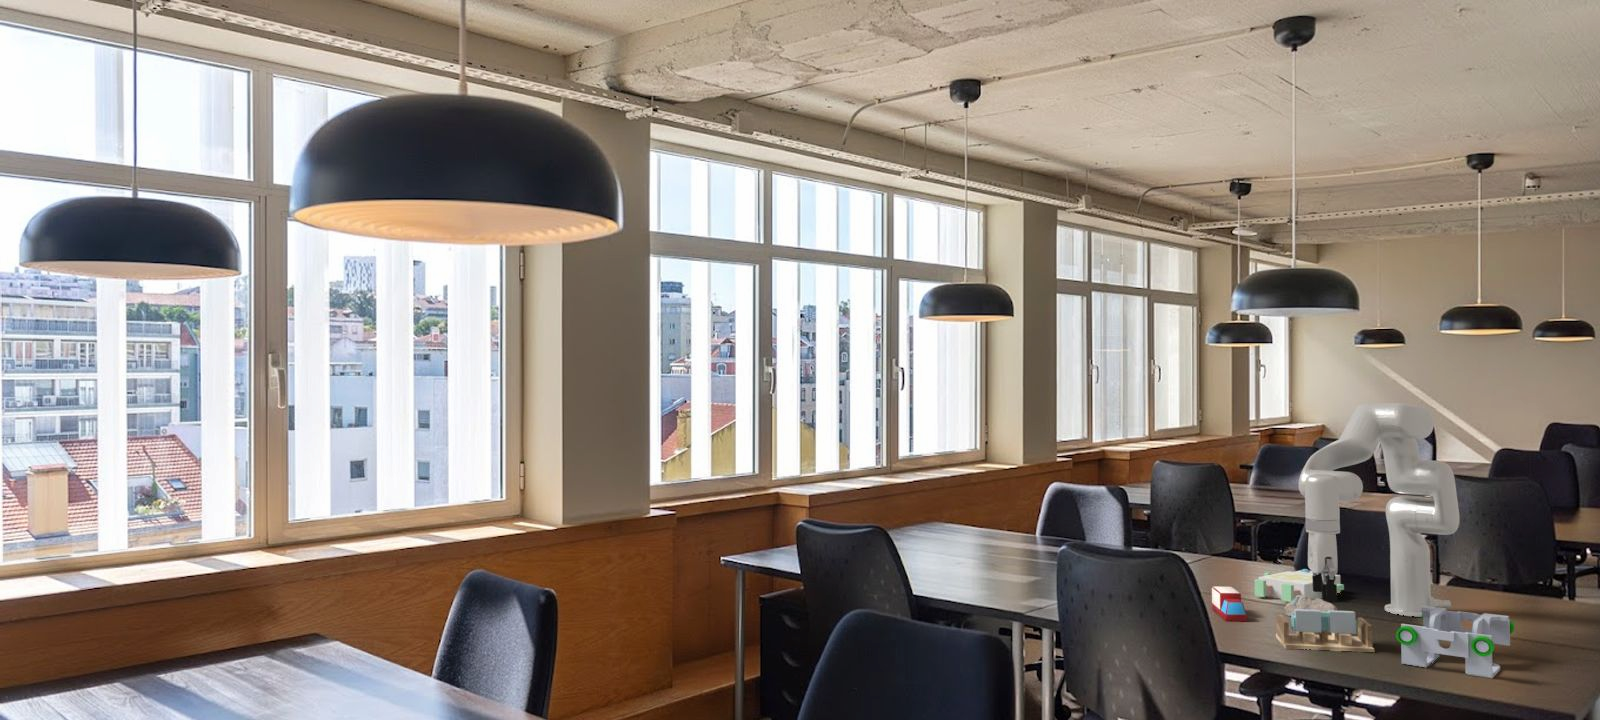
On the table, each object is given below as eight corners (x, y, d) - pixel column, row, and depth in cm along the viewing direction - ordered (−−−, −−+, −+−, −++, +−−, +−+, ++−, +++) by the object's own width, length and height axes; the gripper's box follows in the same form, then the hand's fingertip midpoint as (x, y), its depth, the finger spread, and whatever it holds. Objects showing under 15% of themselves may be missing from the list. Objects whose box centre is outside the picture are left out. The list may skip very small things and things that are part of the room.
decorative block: (1290, 565, 339) (1354, 575, 323) (1291, 586, 339) (1354, 596, 323) (1241, 574, 325) (1305, 585, 308) (1241, 596, 325) (1305, 608, 308)
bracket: (1514, 658, 253) (1514, 614, 253) (1493, 681, 235) (1492, 634, 235) (1423, 645, 266) (1423, 603, 266) (1396, 666, 247) (1395, 621, 247)
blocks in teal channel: (1353, 630, 266) (1353, 609, 266) (1357, 633, 263) (1357, 613, 263) (1291, 627, 269) (1290, 607, 270) (1294, 631, 266) (1294, 610, 266)
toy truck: (1225, 622, 292) (1225, 597, 292) (1211, 610, 307) (1211, 586, 307) (1247, 622, 291) (1246, 597, 291) (1232, 610, 306) (1232, 586, 306)
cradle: (1360, 640, 270) (1360, 616, 270) (1374, 653, 258) (1373, 627, 258) (1276, 637, 275) (1275, 613, 275) (1285, 648, 263) (1285, 623, 263)
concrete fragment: (1324, 626, 286) (1323, 603, 286) (1281, 615, 299) (1281, 593, 299) (1343, 624, 288) (1343, 601, 288) (1301, 613, 301) (1300, 591, 301)
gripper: (1298, 520, 276) (1300, 588, 276) (1314, 531, 259) (1316, 604, 259) (1330, 520, 274) (1332, 588, 274) (1348, 531, 257) (1350, 604, 257)
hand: (1324, 596), depth 267 cm, fingers open, 9 cm apart
